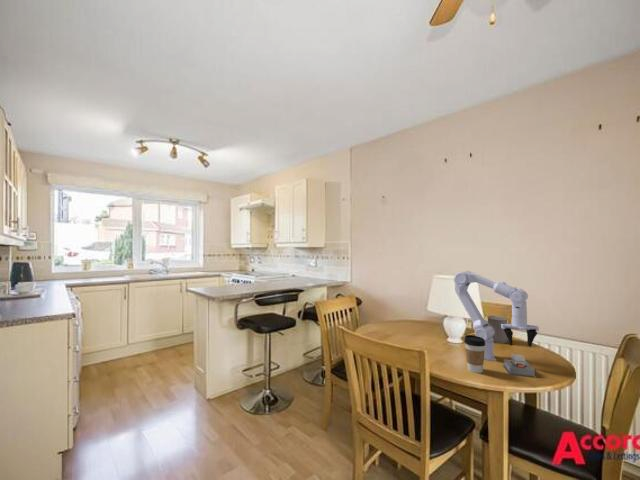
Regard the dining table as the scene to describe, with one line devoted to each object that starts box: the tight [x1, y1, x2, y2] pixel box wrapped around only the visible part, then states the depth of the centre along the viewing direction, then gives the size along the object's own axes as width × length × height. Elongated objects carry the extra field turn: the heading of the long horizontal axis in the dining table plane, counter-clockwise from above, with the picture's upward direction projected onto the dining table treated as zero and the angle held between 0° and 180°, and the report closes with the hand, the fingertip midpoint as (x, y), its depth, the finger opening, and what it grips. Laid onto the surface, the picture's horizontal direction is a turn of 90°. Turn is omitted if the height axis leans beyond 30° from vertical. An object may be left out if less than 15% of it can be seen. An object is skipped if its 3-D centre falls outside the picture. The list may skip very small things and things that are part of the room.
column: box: [511, 353, 526, 367], centre depth 127 cm, size 4×4×7 cm
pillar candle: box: [487, 315, 508, 344], centre depth 168 cm, size 10×10×15 cm
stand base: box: [502, 358, 538, 378], centre depth 127 cm, size 10×10×4 cm
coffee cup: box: [463, 334, 485, 374], centre depth 129 cm, size 8×8×15 cm
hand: (520, 345), depth 132 cm, fingers open, 7 cm apart
